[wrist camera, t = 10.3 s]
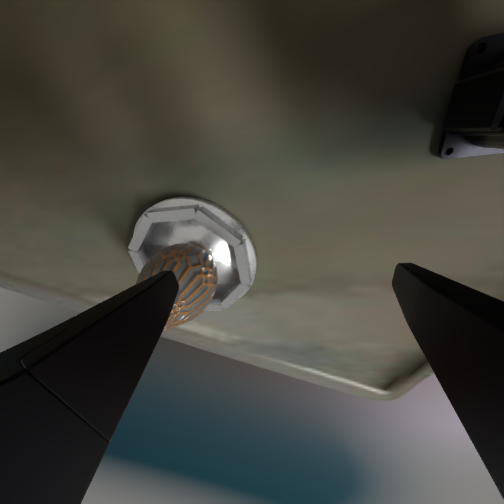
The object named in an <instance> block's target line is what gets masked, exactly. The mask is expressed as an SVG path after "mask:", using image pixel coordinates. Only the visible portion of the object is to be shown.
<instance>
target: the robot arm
mask: <svg viewBox="0 0 504 504" xmlns="http://www.w3.org/2000/svg"><path fill="white" fill-rule="evenodd" d="M478 45H480V46H481V50H480V52H479V54H476V48H477V46H478ZM443 129H444V132H443V136H442V139H441V143H440V146H439V150H438V157H440V158H443V159H451V158H460V157H469V156H478V155H486V154H495V153H504V33H501V34H496V35H492V36H487V37H483V38H481V39H479V40H477V41H475V42H473V43H472V44H471V45H470V46H469V48H468V49H467V52H466V54H465V58H464V62H463V65H462V69H461V72H460V76H459V79H458V82H457V83H456V85H455V86H454V90H453V93H452V97H451V100H450V104H449V108H448V111H447V115H446V118H445V122H444V125H443ZM448 148H450V151H449V153H447V154H445V151H446V150H447V149H448ZM392 287H393V289H394V292H395V294H396V297H397V299H398V302H399V304H400V307H401V309H402V312H403V314H404V317H405V319H406V321H407V324H408V326H409V328H410V329H411V331H412V333H413V335H414V337H415V339H416V340H417V342H418V344H419V346H420V348H421V350H422V351H423V353H424V355H425V357H426V359H427V361H428V362H429V364H430V366H431V368H432V370H433V371H434V373H435V375H436V377H437V379H438V381H439V382H440V384H441V386H442V388H443V390H444V392H445V393H446V395H447V397H448V399H449V400H450V402H451V404H452V406H453V408H454V410H455V412H456V413H457V415H458V417H459V419H460V421H461V423H462V424H463V426H464V428H465V430H466V432H467V433H468V435H469V437H470V439H471V441H472V443H473V444H474V446H475V448H476V450H477V452H478V453H479V455H480V457H481V459H482V461H483V463H484V464H485V466H486V468H487V470H488V472H489V473H490V475H491V477H492V479H493V481H494V482H495V484H496V486H497V488H498V490H499V492H500V494H501V495H502V497H503V499H504V302H503V301H501V300H499V299H496V298H494V297H492V296H489V295H487V294H484V293H482V292H480V291H477V290H475V289H472V288H470V287H468V286H465V285H463V284H461V283H458V282H456V281H453V280H451V279H449V278H446V277H444V276H441V275H439V274H437V273H434V272H432V271H430V270H427V269H425V268H422V267H420V266H418V265H415V264H413V263H399V264H397V266H396V268H395V272H394V276H393V280H392ZM178 291H179V283H178V281H177V278H176V276H175V273H174V272H173V271H172V270H164V271H161V272H159V273H157V274H156V275H154V276H152V277H150V278H148V279H146V280H144V281H142V282H140V283H138V284H136V285H134V286H132V287H130V288H128V289H127V290H125V291H123V292H121V293H119V294H117V295H115V296H113V297H111V298H109V299H107V300H105V301H103V302H101V303H99V304H98V305H96V306H94V307H92V308H90V309H88V310H86V311H84V312H82V313H80V314H78V315H77V316H75V317H73V318H70V319H69V320H67V321H65V322H63V323H61V324H59V325H57V326H55V327H53V328H51V329H49V330H47V331H45V332H43V333H41V334H39V335H36V336H35V337H32V338H30V339H28V340H26V341H24V342H22V343H20V344H18V345H16V346H13V347H11V348H9V349H7V350H6V351H3V352H1V353H0V504H81V502H82V500H83V498H84V495H85V494H86V491H87V489H88V487H89V485H90V483H91V481H92V479H93V477H94V475H95V473H96V470H97V468H98V466H99V464H100V462H101V460H102V458H103V455H104V453H105V451H106V449H107V447H108V445H109V441H111V439H112V436H113V434H114V432H115V430H116V428H117V426H118V424H119V422H120V420H121V418H122V415H123V413H124V411H125V409H126V407H127V405H128V403H129V401H130V399H131V396H132V395H133V393H134V390H135V388H136V386H137V384H138V382H139V380H140V378H141V376H142V373H143V372H144V369H145V367H146V365H147V363H148V361H149V359H150V357H151V354H152V353H153V351H154V349H155V346H156V344H157V342H158V340H159V338H160V336H161V334H162V332H163V330H164V328H165V325H166V323H167V321H168V319H169V316H170V313H171V311H172V308H173V305H174V302H175V299H176V297H177V294H178Z"/></svg>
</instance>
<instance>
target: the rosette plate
mask: <svg viewBox="0 0 504 504" xmlns="http://www.w3.org/2000/svg"><path fill="white" fill-rule="evenodd" d="M179 243H188V244H193V245H196V246H198V247H200V248H202V249H204V250H205V251H206V252H207V253H209V255H210V256H211V257H212V258H213V260H214V262H215V264H216V267H217V272H218V282H217V287H216V291H215V293H214V296H213V298H212V300H211V302H210V303H209V305H208V306H207V307H206V308H205V310H204V311H223V309H225V310H226V309H227V308H228V307H229V306H230V305H231V304H232V303H233V302H235V301H236V300H238V299H240V298H241V297H242V296H243V295H244V294H245V293H246V292H247V291H248V290H249V288H250V287H251V285H252V283H253V280H254V277H255V273H256V268H257V254H256V249H255V246H254V243H253V240H252V238H251V236H250V234H249V233H248V231H247V230H246V228H245V227H244V225H243V224H242V223H241V222H240V221H239V220H238V219H237V218H236V217H235V216H234V215H233V214H231V213H230V212H229V211H227V210H226V209H224V208H223V207H221V206H219V205H217V204H215V203H213V202H211V201H208V200H205V199H202V198H197V197H190V196H178V197H172V198H168V199H166V200H163V201H161V202H159V203H157V204H155V205H153V206H152V207H150V208H149V209H147V210H146V211H145V212H144V213H143V214H142V215H141V217H140V218H139V220H138V221H137V223H136V226H135V229H134V233H133V238H132V240H131V242H130V244H129V247H128V248H129V249H130V250H129V251H128V252H129V254H130V256H131V258H132V260H133V262H134V264H135V266H136V268H137V270H138V272H139V274H140V272H141V270H142V268H143V267H144V265H145V264H146V262H147V261H148V260H149V259H150V258H151V257H152V256H153V255H155V254H156V253H157V252H159V251H160V250H162V249H164V248H166V247H168V246H171V245H174V244H179Z"/></svg>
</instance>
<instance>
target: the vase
mask: <svg viewBox="0 0 504 504" xmlns="http://www.w3.org/2000/svg"><path fill="white" fill-rule="evenodd" d="M164 270H172V271H173V272H174V273H175V276H176V278H177V281H178V283H179V291H178V294H177V297H176V299H175V302H174V305H173V308H172V311H171V313H170V316H169V319H168V321H167V323H166V325H165V328H164V330H163V332H162V334H164V333H165V332H166V331H168V330H169V329H171V328H173V327H175V326H178V325H181V324H184V323H186V322H189V321H191V320H193V319H194V318H196V317H197V316H198V315H199V314H201V313H202V312H203V311H204V310H205V308H206V307H207V306H208V305H209V303H210V302H211V300H212V298H213V296H214V293H215V291H216V287H217V282H218V272H217V267H216V264H215V262H214V260H213V258H212V257H211V256H210V255H209V253H207V252H206V251H205V250H204V249H202V248H200V247H198V246H196V245H193V244H188V243H179V244H174V245H171V246H168V247H166V248H164V249H162V250H160V251H159V252H157V253H156V254H155V255H153V256H152V257H151V258H150V259H149V260H148V261H147V262H146V264H145V265H144V267H143V268H142V270H141V272H140V274H139V276H138V279H137V282H136V284H138V283H140V282H142V281H144V280H146V279H148V278H150V277H152V276H154V275H156V274H157V273H159V272H161V271H164ZM162 334H161V335H162Z"/></svg>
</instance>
